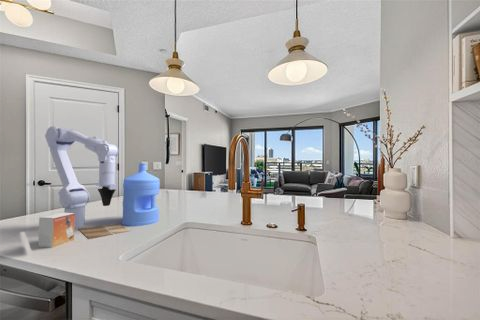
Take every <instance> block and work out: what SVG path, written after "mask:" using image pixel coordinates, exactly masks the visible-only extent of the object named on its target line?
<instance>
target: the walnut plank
mask: <svg viewBox="0 0 480 320" xmlns="http://www.w3.org/2000/svg"><path fill="white" fill-rule="evenodd" d="M77 230H78V231H79V232H81V233H82V234H83V235H84V236H85V237H86V238H87V239H88V240H93V239H96V238H102V237H107V236H113V235H114V233H113V232H111V231H110V230H108V229H106V228H105V227H103V226H102V225H96V226H95V225H94V226H88V227H83V228H77Z"/></svg>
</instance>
